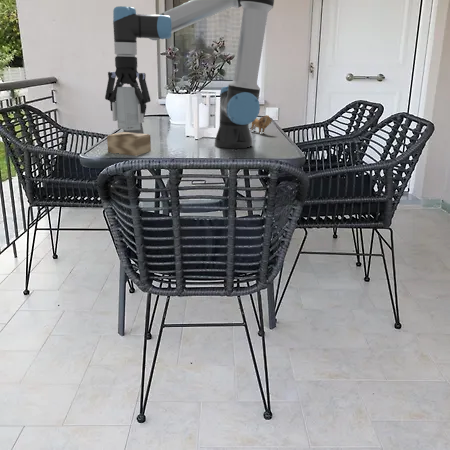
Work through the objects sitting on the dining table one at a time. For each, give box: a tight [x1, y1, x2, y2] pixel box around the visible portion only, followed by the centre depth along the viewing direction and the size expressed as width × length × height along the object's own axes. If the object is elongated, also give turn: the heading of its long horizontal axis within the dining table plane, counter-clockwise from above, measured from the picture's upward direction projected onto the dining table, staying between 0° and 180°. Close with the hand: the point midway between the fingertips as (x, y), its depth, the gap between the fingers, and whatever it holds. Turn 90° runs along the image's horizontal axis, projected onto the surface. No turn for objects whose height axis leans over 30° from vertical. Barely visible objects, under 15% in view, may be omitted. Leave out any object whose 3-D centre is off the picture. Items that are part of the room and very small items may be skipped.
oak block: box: [106, 131, 152, 157], centre depth 174 cm, size 12×10×6 cm
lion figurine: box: [249, 114, 273, 133], centre depth 227 cm, size 15×5×9 cm, turn 39°
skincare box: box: [115, 86, 141, 131], centre depth 170 cm, size 8×6×15 cm
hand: (128, 121), depth 172 cm, fingers closed on skincare box, 10 cm apart
